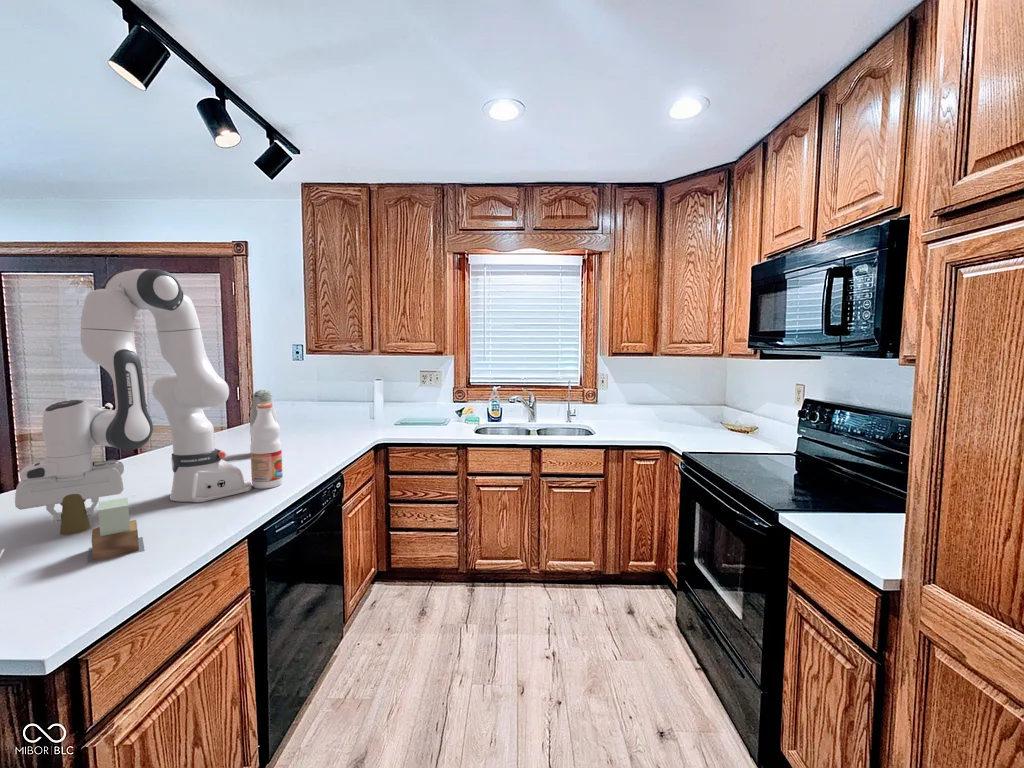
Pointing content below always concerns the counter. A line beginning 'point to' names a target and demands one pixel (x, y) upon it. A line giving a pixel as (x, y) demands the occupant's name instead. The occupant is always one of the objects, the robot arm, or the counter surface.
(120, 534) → the walnut base block
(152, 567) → the counter surface
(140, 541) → the slate coaster
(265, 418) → the fruit juice
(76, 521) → the cork
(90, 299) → the robot arm
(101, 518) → the sage block
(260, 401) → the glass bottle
